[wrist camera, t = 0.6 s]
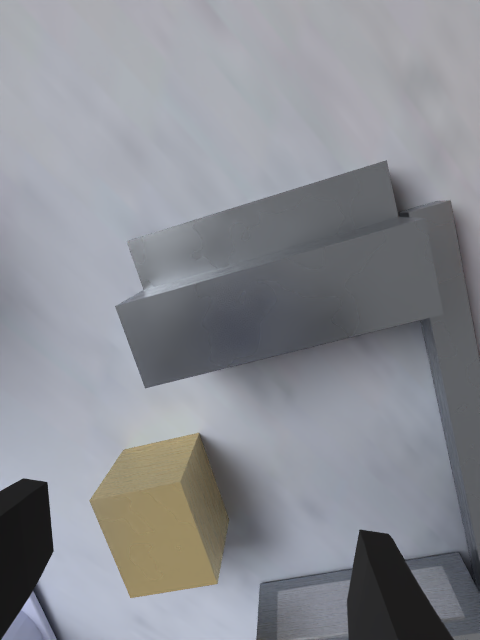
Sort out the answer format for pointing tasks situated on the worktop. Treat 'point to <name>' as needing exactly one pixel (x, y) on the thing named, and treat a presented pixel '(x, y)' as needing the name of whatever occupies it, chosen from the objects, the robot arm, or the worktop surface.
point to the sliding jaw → (332, 591)
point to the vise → (314, 296)
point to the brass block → (163, 517)
